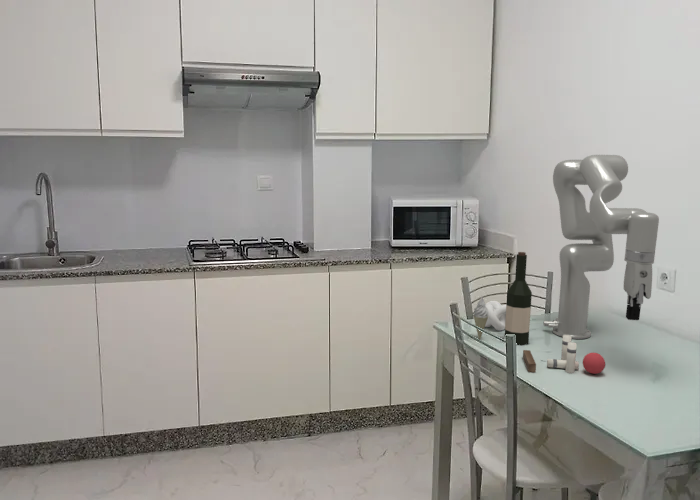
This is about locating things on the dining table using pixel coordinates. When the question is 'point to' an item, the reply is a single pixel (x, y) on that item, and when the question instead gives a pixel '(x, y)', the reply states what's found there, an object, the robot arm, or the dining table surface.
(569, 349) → the back pin near
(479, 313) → the ice cream cone
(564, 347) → the back pin far
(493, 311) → the white knot
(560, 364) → the front pin
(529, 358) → the back wall
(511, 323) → the wine bottle
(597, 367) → the ball
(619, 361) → the dining table surface
